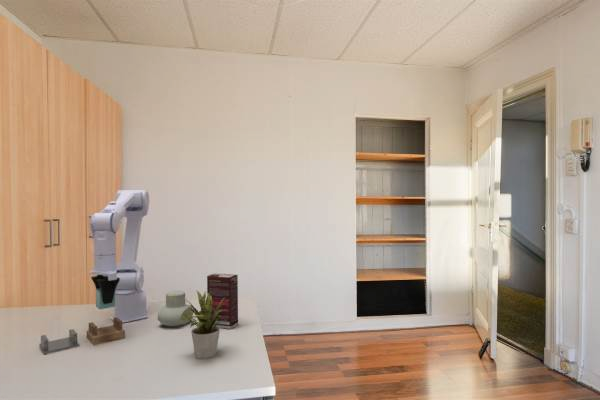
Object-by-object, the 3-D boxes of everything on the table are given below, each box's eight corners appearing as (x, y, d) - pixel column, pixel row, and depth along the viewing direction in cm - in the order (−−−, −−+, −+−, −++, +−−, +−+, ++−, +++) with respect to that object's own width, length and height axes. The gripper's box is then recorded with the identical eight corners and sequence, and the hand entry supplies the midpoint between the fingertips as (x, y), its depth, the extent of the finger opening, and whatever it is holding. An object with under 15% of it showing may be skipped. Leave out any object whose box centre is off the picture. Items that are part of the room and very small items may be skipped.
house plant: (165, 351, 97) (165, 288, 97) (215, 339, 105) (214, 281, 105) (185, 370, 85) (184, 299, 86) (239, 355, 94) (238, 290, 94)
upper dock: (116, 330, 112) (116, 316, 112) (124, 338, 106) (124, 322, 106) (86, 337, 107) (86, 321, 107) (93, 345, 101) (93, 328, 101)
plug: (110, 303, 110) (110, 285, 110) (115, 306, 107) (114, 287, 107) (95, 306, 107) (95, 287, 107) (99, 309, 104) (99, 289, 104)
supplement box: (238, 324, 117) (238, 274, 117) (231, 329, 113) (230, 277, 113) (215, 322, 120) (214, 272, 120) (206, 326, 116) (206, 275, 116)
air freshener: (174, 317, 125) (174, 288, 125) (196, 319, 123) (196, 289, 123) (153, 328, 115) (153, 296, 115) (177, 330, 112) (176, 297, 112)
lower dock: (73, 338, 106) (72, 327, 106) (79, 346, 101) (79, 334, 101) (39, 345, 101) (39, 334, 101) (43, 354, 95) (43, 342, 95)
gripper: (83, 253, 110) (83, 299, 109) (96, 258, 99) (96, 309, 99) (109, 250, 114) (109, 295, 114) (124, 255, 104) (124, 304, 103)
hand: (105, 301), depth 107 cm, fingers closed on plug, 4 cm apart
